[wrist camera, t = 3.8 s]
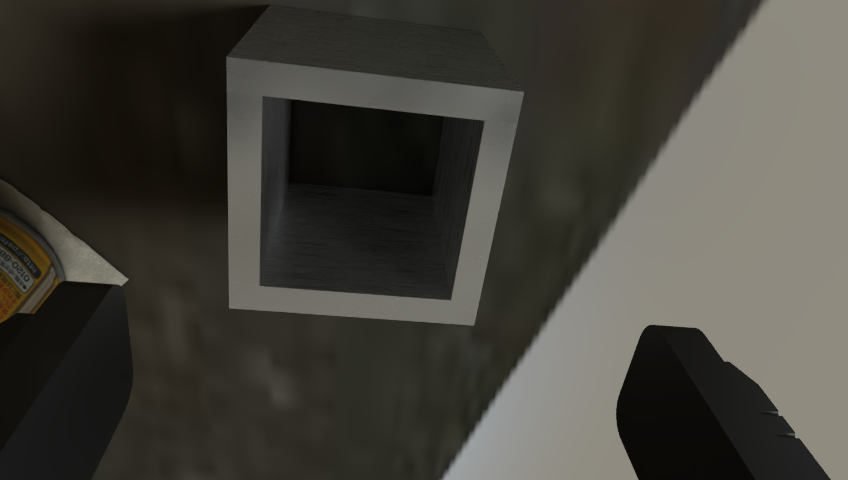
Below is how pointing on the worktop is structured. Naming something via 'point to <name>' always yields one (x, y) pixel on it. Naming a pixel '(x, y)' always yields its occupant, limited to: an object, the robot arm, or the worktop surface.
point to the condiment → (40, 255)
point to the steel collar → (359, 208)
